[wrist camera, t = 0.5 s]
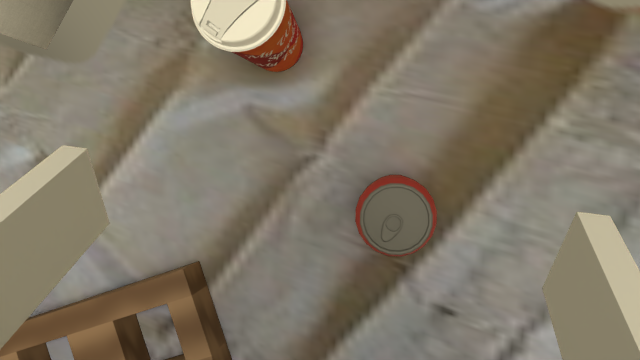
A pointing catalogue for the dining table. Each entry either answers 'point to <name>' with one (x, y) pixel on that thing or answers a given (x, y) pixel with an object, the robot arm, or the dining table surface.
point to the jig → (127, 322)
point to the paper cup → (251, 30)
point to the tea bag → (32, 19)
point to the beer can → (396, 215)
